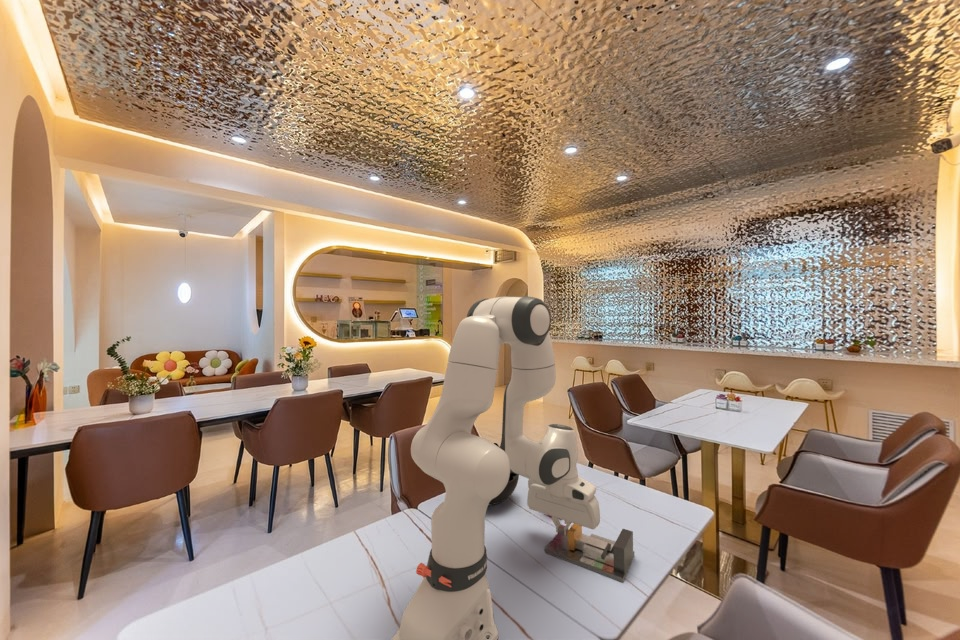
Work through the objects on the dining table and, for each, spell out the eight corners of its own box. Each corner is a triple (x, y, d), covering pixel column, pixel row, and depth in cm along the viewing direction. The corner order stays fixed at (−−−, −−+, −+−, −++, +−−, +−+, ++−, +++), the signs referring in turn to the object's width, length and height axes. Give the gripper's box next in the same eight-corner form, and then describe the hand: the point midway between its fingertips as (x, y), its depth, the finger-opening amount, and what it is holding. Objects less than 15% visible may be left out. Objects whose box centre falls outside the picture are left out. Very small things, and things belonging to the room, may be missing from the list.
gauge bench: (622, 582, 86) (622, 552, 86) (544, 552, 97) (544, 526, 97) (634, 555, 96) (634, 528, 96) (562, 530, 107) (562, 507, 107)
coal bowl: (527, 494, 130) (526, 441, 130) (505, 522, 112) (504, 461, 112) (477, 483, 139) (477, 434, 139) (450, 508, 121) (449, 451, 121)
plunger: (605, 570, 88) (605, 550, 88) (563, 554, 94) (563, 536, 94) (615, 551, 96) (615, 532, 96) (576, 537, 102) (576, 520, 102)
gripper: (523, 478, 104) (523, 526, 104) (594, 497, 93) (594, 552, 92) (533, 470, 110) (533, 516, 109) (601, 488, 98) (602, 539, 98)
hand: (562, 533), depth 101 cm, fingers closed
